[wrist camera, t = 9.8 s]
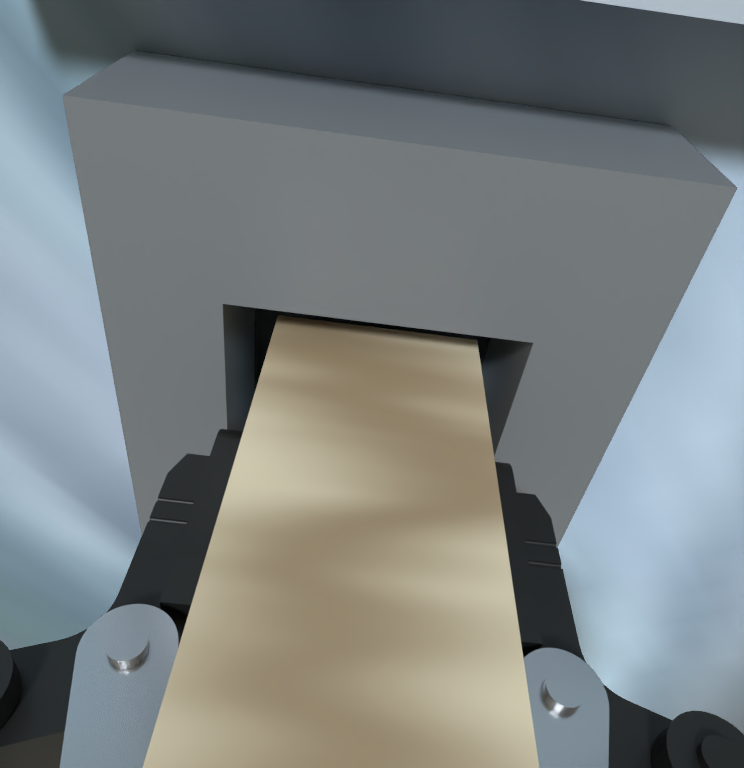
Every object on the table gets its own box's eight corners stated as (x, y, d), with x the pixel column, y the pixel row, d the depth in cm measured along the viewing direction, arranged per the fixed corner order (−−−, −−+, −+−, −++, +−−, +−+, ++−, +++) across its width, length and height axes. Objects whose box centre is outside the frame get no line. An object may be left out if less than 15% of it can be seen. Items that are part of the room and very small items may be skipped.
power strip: (672, 126, 12) (761, 209, 9) (446, 681, 26) (450, 786, 23) (133, 50, 11) (36, 112, 8) (199, 656, 25) (171, 759, 22)
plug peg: (477, 340, 13) (561, 919, 6) (440, 475, 15) (466, 991, 8) (278, 314, 12) (108, 879, 5) (274, 455, 15) (155, 964, 8)
